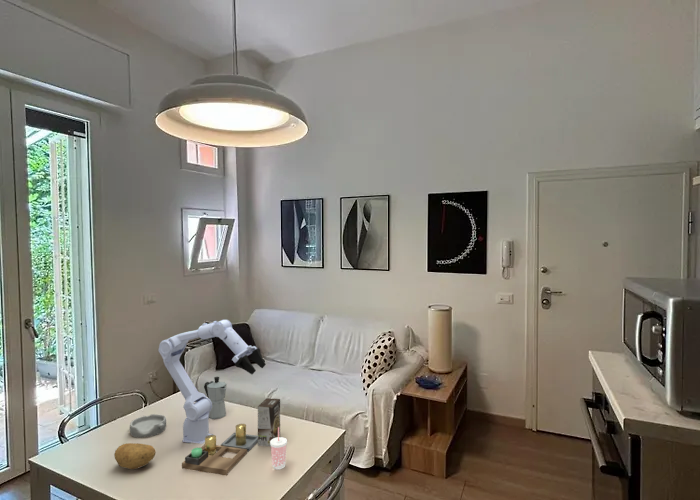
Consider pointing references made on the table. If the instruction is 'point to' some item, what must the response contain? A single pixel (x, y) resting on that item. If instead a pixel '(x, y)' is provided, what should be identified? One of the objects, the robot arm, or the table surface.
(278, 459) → the beverage cup
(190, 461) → the pallet board
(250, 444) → the tote
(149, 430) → the dish
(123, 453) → the potato
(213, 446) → the seated billet
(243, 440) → the cylinder
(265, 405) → the coffee box
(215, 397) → the coffee maker
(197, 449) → the button
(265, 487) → the table surface
